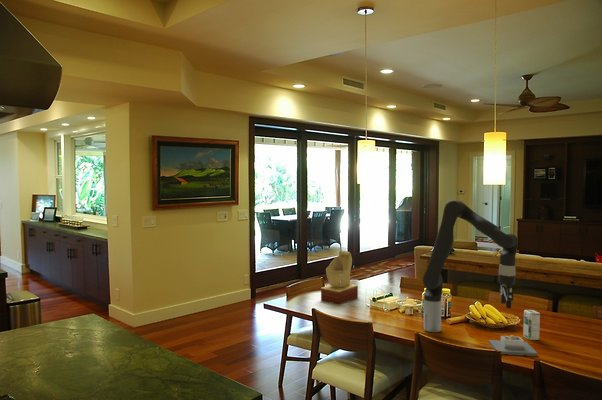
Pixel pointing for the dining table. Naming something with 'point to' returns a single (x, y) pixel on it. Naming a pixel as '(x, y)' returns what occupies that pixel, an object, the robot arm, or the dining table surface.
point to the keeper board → (510, 351)
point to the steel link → (512, 342)
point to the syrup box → (531, 324)
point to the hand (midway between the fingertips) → (505, 305)
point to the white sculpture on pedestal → (340, 281)
